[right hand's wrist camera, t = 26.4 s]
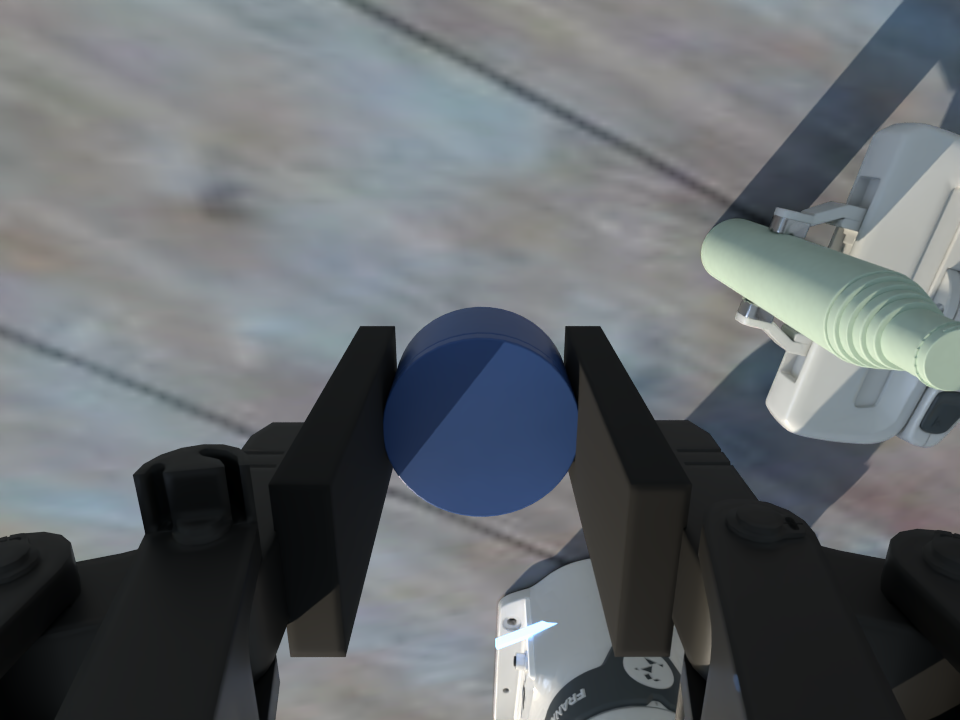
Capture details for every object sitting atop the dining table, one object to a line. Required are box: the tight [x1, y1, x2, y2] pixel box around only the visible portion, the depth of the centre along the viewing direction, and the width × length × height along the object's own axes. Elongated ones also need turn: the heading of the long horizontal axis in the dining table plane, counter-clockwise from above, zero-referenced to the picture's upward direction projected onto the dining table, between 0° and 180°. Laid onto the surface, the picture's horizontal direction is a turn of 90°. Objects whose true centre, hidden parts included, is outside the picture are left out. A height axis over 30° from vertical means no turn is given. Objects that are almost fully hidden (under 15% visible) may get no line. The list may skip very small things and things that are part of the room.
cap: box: [383, 307, 578, 517], centre depth 13 cm, size 4×4×2 cm
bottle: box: [701, 218, 960, 391], centre depth 36 cm, size 5×5×24 cm
